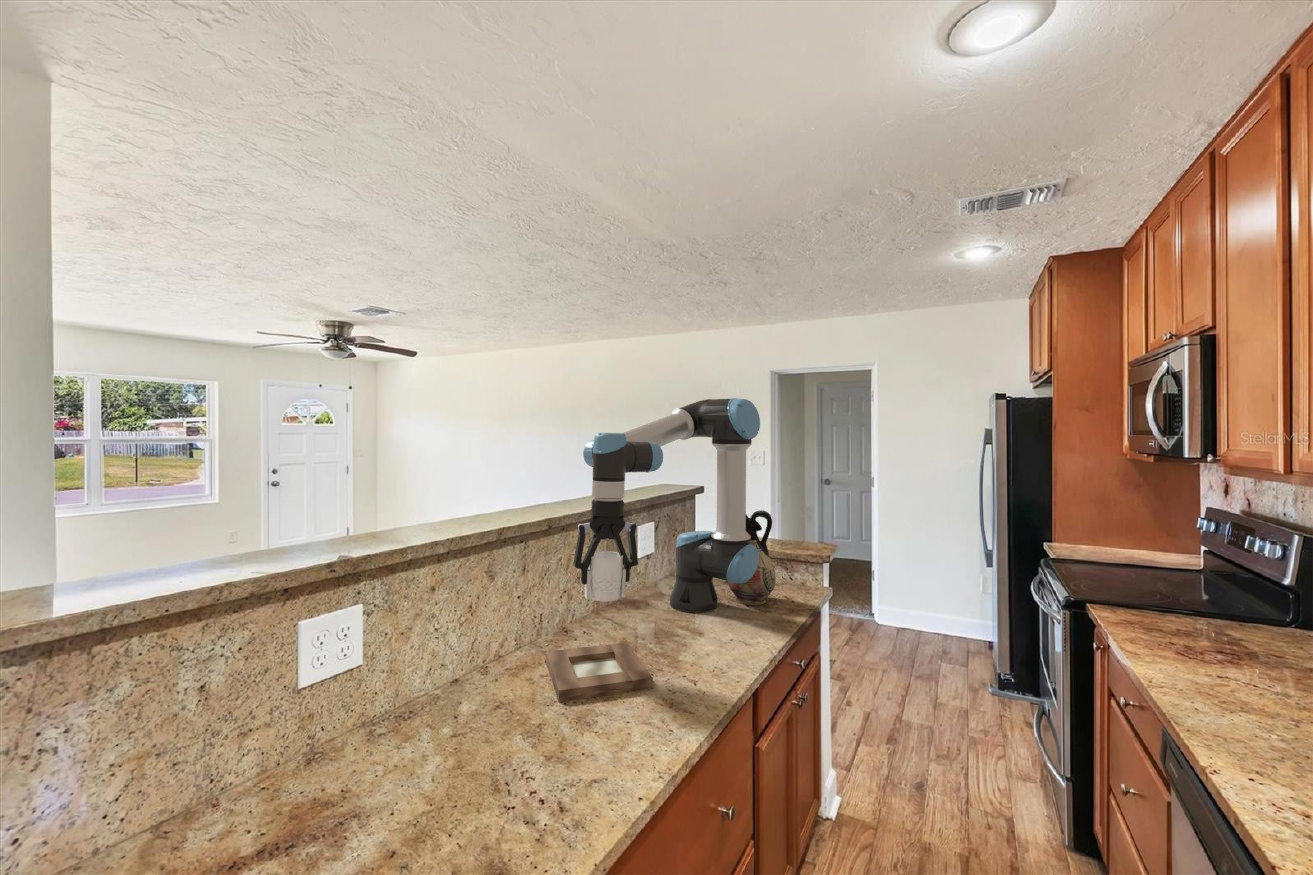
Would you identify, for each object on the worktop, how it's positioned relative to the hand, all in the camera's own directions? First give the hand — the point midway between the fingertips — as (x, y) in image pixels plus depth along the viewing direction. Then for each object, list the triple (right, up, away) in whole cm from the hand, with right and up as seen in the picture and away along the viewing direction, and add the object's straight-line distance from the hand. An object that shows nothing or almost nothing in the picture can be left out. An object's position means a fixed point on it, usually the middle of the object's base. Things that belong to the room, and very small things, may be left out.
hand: (604, 596), depth 128 cm
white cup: (0, 0, 0) cm, 0 cm away
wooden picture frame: (-2, -16, -4) cm, 17 cm away
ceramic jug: (+43, -16, +50) cm, 68 cm away
